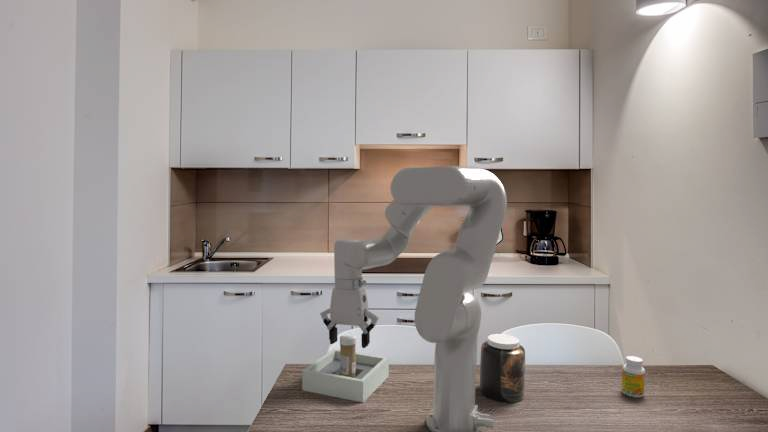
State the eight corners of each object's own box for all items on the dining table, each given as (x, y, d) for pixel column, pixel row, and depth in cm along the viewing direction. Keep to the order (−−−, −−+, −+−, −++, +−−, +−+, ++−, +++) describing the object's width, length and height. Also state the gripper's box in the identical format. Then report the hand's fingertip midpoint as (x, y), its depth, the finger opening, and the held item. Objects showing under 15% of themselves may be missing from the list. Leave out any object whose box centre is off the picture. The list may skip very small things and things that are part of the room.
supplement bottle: (621, 395, 127) (623, 360, 126) (621, 387, 132) (623, 353, 131) (643, 399, 124) (645, 363, 124) (643, 391, 129) (645, 357, 129)
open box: (388, 376, 137) (388, 357, 137) (363, 402, 121) (363, 381, 120) (333, 366, 144) (333, 348, 143) (302, 390, 127) (302, 370, 127)
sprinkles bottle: (358, 384, 131) (359, 337, 130) (344, 388, 129) (344, 340, 128) (350, 378, 135) (351, 332, 134) (336, 382, 133) (336, 335, 132)
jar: (474, 397, 124) (476, 341, 123) (484, 380, 135) (486, 329, 134) (520, 406, 120) (522, 349, 118) (527, 388, 130) (529, 335, 129)
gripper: (382, 283, 130) (383, 343, 131) (327, 279, 137) (328, 337, 138) (371, 288, 123) (372, 352, 124) (314, 284, 130) (315, 345, 131)
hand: (349, 344), depth 131 cm, fingers open, 9 cm apart
